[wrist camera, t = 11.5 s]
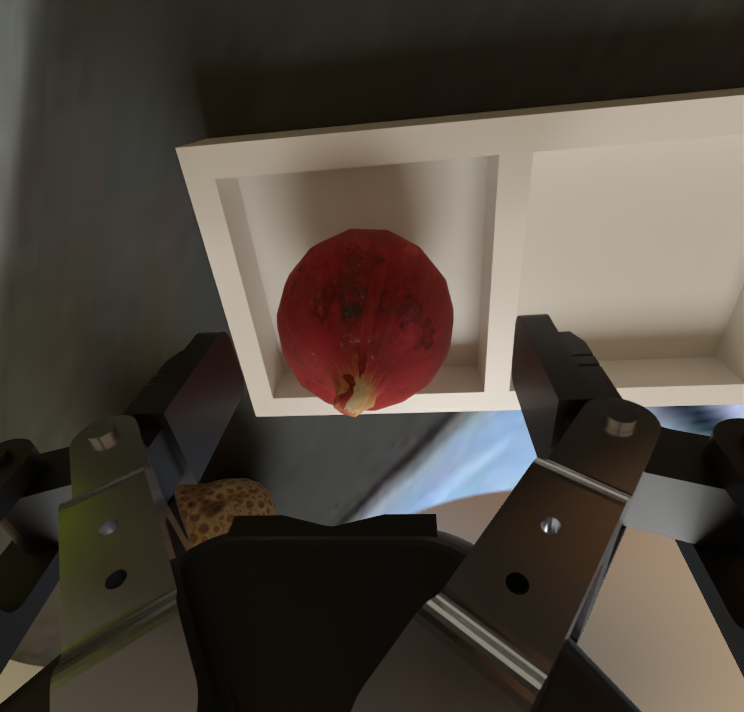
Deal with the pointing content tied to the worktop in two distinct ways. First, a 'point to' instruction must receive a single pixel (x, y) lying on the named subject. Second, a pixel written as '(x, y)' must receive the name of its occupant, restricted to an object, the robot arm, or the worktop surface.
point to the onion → (365, 320)
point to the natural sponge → (221, 505)
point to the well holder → (504, 238)
